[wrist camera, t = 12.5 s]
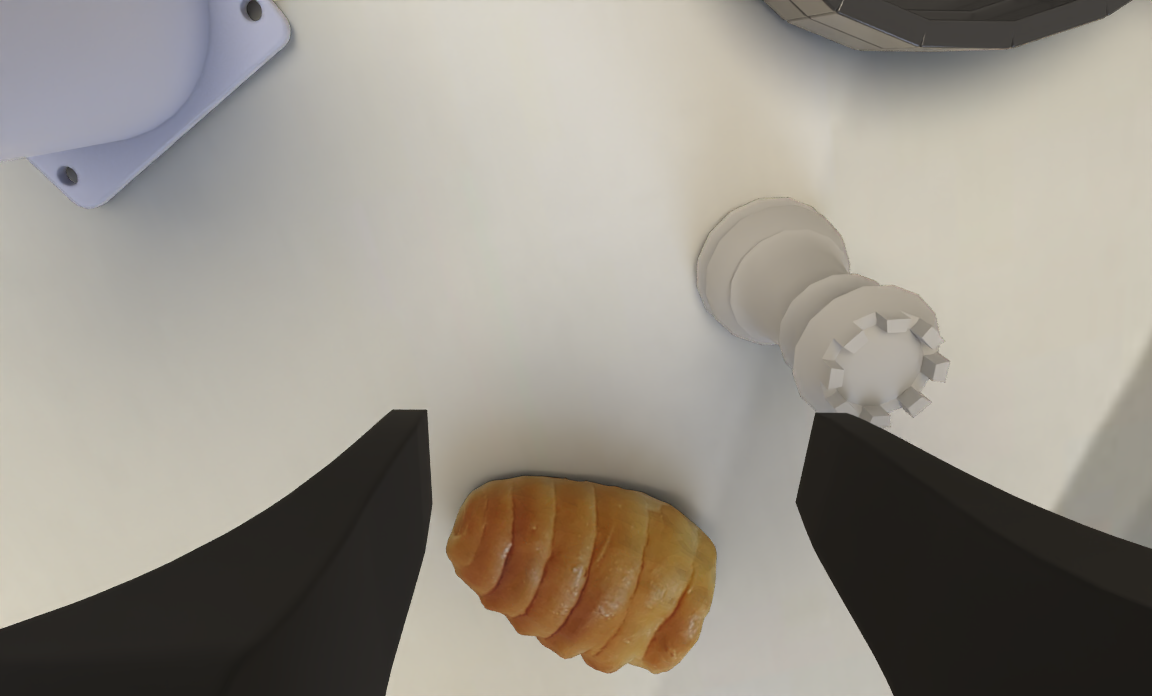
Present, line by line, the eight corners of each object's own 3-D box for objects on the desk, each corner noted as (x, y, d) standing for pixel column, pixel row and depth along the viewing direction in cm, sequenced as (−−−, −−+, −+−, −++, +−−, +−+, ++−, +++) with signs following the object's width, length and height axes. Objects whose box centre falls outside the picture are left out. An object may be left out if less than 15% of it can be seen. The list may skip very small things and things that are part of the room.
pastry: (426, 567, 25) (409, 650, 21) (494, 426, 22) (487, 492, 19) (642, 633, 27) (659, 718, 23) (724, 510, 24) (756, 583, 21)
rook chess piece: (790, 163, 19) (948, 223, 12) (854, 277, 21) (1027, 393, 14) (665, 250, 20) (741, 356, 13) (736, 353, 22) (839, 501, 14)
